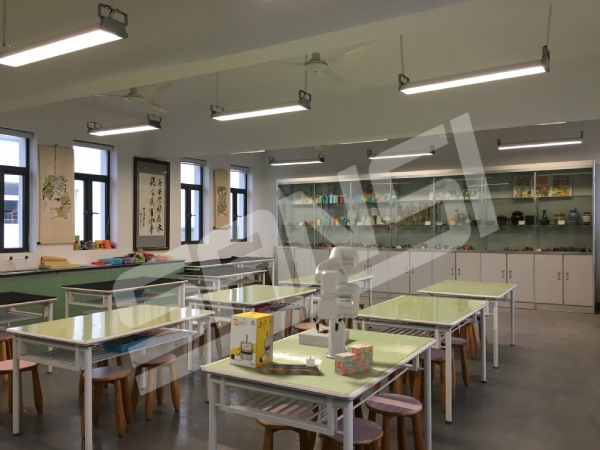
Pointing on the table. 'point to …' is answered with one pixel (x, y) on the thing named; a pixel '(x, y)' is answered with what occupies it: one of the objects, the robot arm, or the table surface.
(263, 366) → the fader console
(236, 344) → the packaging box
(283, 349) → the table surface
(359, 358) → the stack of blocks
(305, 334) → the box
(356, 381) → the table surface
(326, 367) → the table surface
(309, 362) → the fader knob
